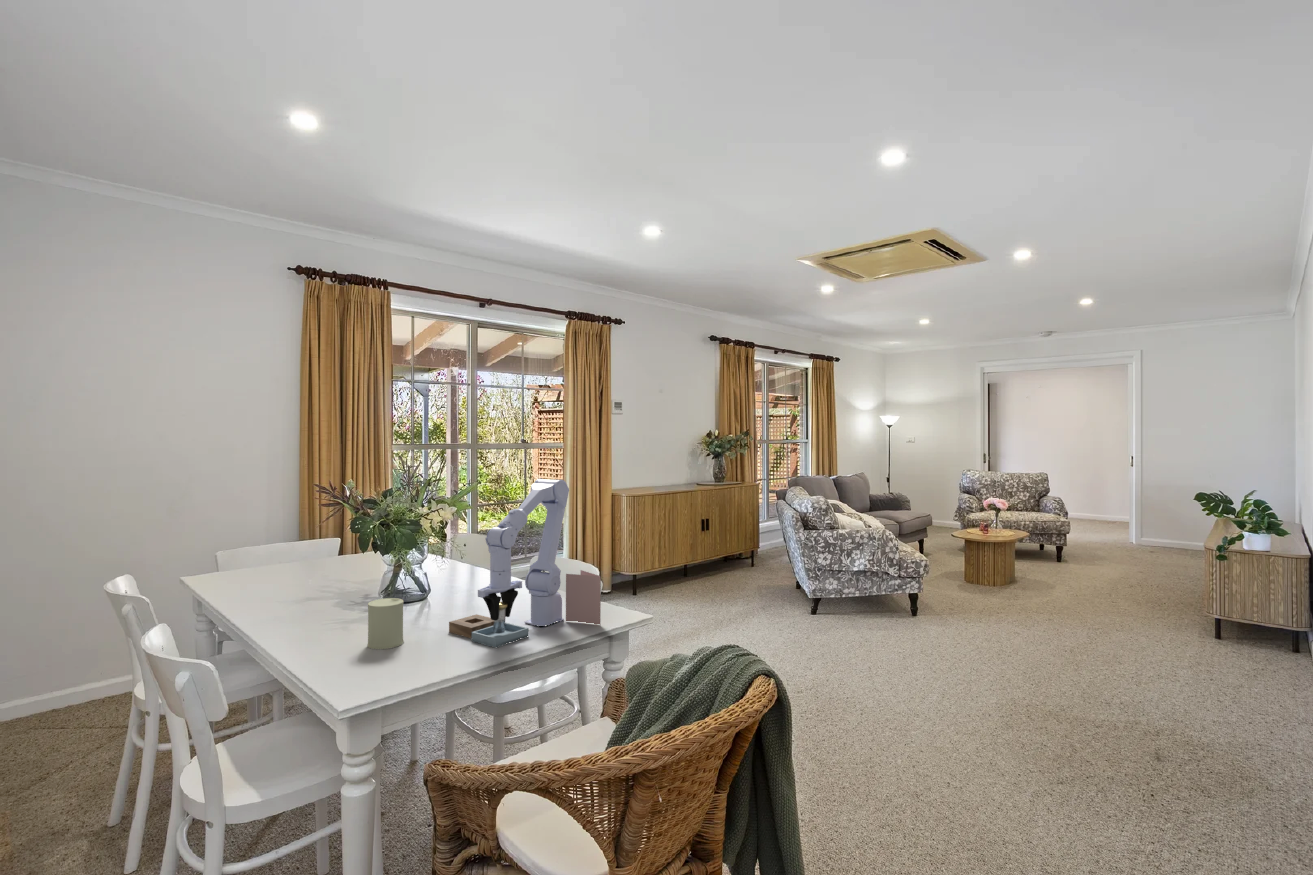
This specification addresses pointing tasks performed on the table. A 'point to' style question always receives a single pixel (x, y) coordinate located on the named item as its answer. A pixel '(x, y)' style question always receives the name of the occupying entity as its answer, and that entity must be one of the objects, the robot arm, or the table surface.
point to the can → (385, 623)
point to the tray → (500, 635)
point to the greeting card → (583, 597)
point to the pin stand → (469, 625)
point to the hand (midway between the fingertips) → (500, 617)
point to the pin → (500, 619)
